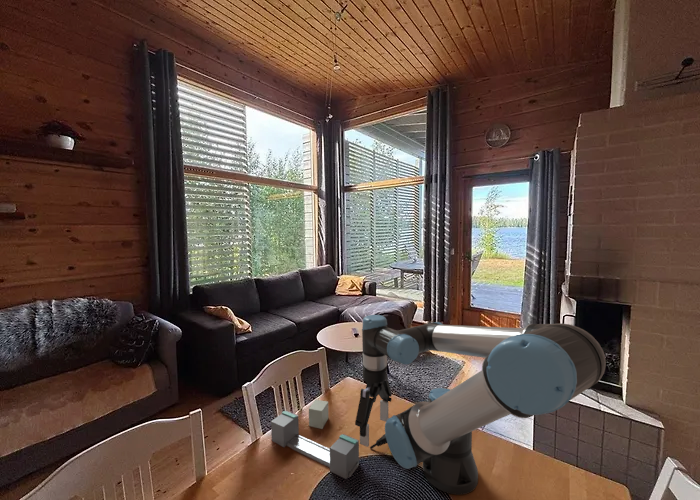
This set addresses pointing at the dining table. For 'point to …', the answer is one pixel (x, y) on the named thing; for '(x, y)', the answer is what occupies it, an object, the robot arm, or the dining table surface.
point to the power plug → (380, 442)
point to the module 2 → (318, 414)
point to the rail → (314, 451)
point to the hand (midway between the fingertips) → (374, 431)
